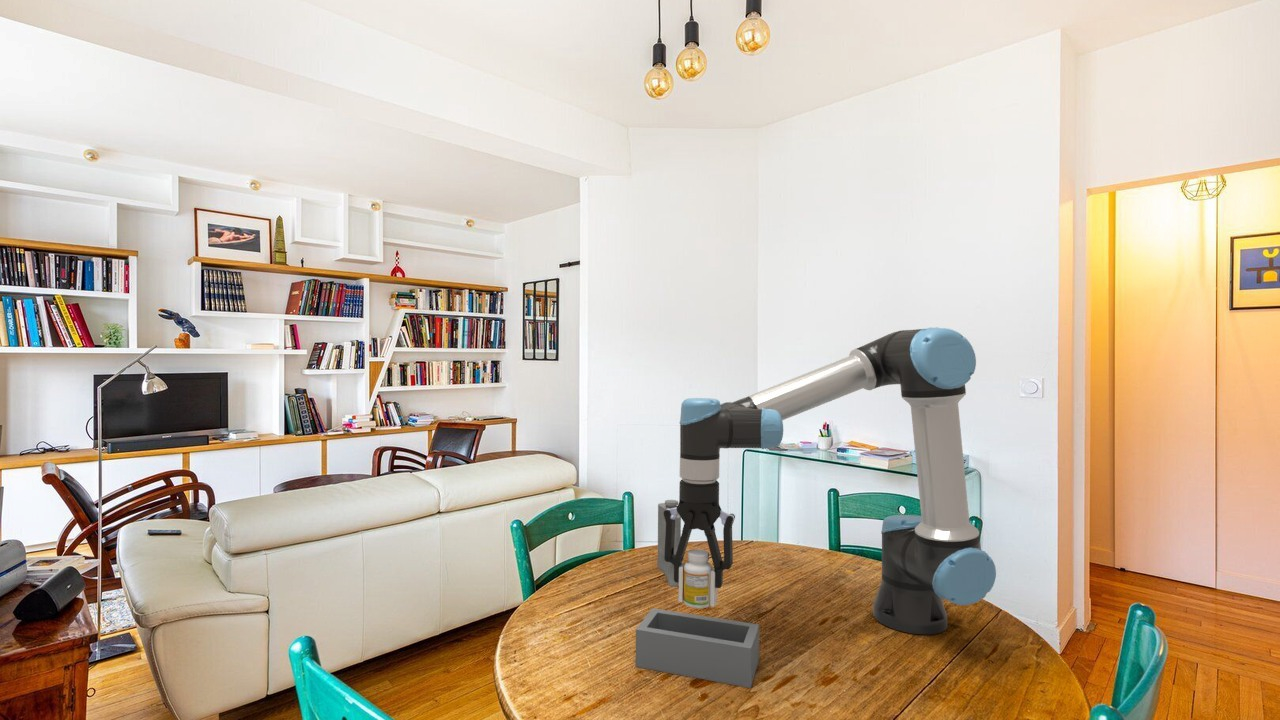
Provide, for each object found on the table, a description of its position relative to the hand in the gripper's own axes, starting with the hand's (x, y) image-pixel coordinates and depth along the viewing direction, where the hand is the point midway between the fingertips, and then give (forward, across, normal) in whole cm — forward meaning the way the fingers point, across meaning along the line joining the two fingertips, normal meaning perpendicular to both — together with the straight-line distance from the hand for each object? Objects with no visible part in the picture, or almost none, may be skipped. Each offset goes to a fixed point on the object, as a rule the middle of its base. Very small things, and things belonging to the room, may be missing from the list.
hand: (697, 601), depth 114 cm
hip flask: (+12, +18, -43) cm, 48 cm away
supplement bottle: (+1, 0, 0) cm, 1 cm away
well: (+12, 0, 0) cm, 12 cm away
